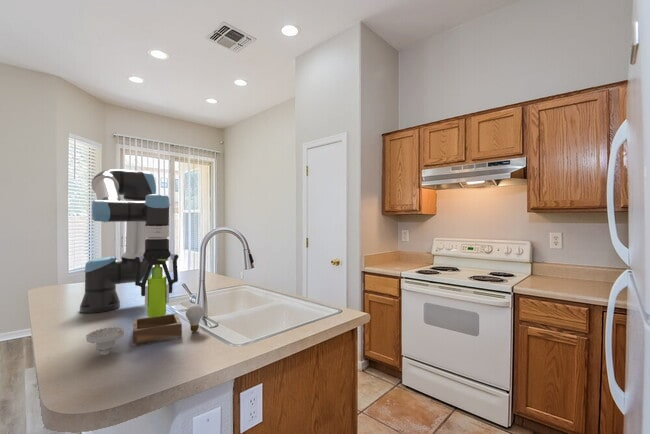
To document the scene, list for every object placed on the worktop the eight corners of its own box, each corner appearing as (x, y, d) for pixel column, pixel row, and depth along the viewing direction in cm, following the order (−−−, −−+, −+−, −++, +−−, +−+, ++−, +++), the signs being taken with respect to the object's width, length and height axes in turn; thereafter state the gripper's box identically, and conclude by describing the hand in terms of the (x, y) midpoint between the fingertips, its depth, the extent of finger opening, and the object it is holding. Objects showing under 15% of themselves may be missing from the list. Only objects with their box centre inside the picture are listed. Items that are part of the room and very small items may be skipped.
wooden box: (132, 333, 113) (132, 319, 113) (176, 326, 121) (176, 313, 121) (132, 346, 101) (132, 331, 101) (181, 338, 108) (181, 323, 108)
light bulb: (182, 332, 114) (183, 304, 114) (198, 327, 118) (198, 301, 119) (190, 336, 110) (190, 307, 110) (206, 331, 114) (206, 304, 115)
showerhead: (111, 335, 91) (78, 335, 91) (111, 360, 91) (77, 360, 91) (132, 324, 100) (102, 324, 101) (132, 347, 100) (101, 347, 101)
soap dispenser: (160, 318, 107) (161, 259, 107) (143, 316, 109) (143, 258, 109) (172, 313, 113) (172, 257, 113) (155, 311, 114) (156, 256, 115)
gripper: (125, 239, 103) (124, 310, 103) (187, 237, 113) (187, 302, 112) (125, 238, 109) (125, 305, 109) (184, 237, 119) (184, 298, 119)
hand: (156, 303), depth 111 cm, fingers closed on soap dispenser, 6 cm apart
